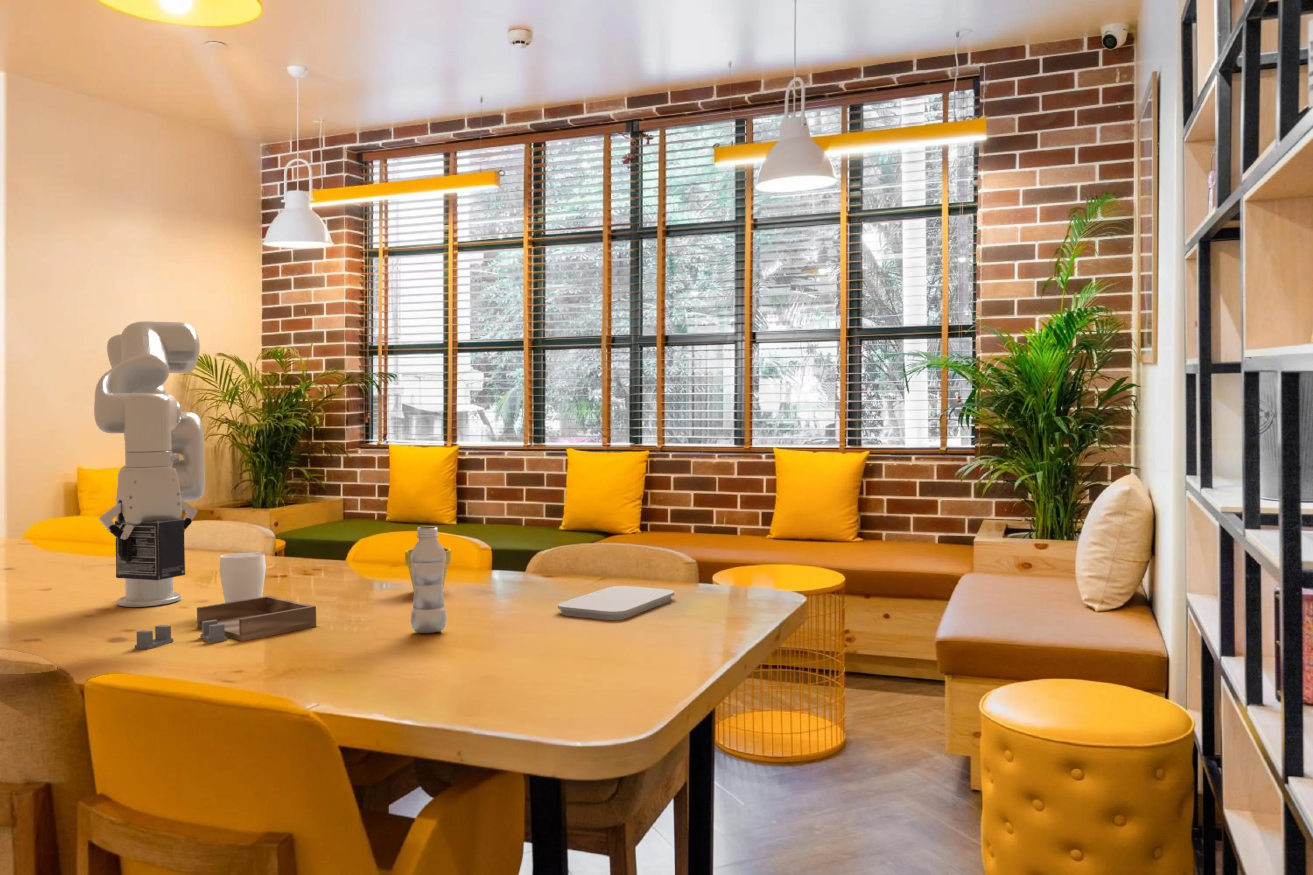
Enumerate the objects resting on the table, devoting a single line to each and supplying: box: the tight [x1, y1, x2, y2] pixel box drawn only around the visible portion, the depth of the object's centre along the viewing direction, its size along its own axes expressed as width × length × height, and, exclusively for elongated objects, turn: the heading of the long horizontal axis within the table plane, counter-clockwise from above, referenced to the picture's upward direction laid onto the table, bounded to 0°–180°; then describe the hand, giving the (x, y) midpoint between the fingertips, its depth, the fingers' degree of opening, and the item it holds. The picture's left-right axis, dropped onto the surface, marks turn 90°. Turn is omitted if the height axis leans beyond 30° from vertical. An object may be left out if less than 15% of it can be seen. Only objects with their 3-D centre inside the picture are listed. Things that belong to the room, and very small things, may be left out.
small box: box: [114, 518, 186, 580], centre depth 178 cm, size 11×6×10 cm, turn 70°
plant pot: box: [404, 546, 452, 591], centre depth 229 cm, size 10×10×10 cm
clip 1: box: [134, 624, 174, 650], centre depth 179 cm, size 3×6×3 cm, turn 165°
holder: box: [196, 595, 317, 642], centre depth 193 cm, size 18×15×4 cm
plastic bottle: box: [410, 525, 448, 634], centre depth 186 cm, size 6×7×20 cm
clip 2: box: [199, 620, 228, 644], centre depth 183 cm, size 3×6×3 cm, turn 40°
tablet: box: [557, 585, 675, 621], centre depth 209 cm, size 16×26×2 cm, turn 152°
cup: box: [219, 551, 267, 603], centre depth 208 cm, size 9×9×12 cm
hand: (151, 557), depth 178 cm, fingers closed on small box, 8 cm apart
